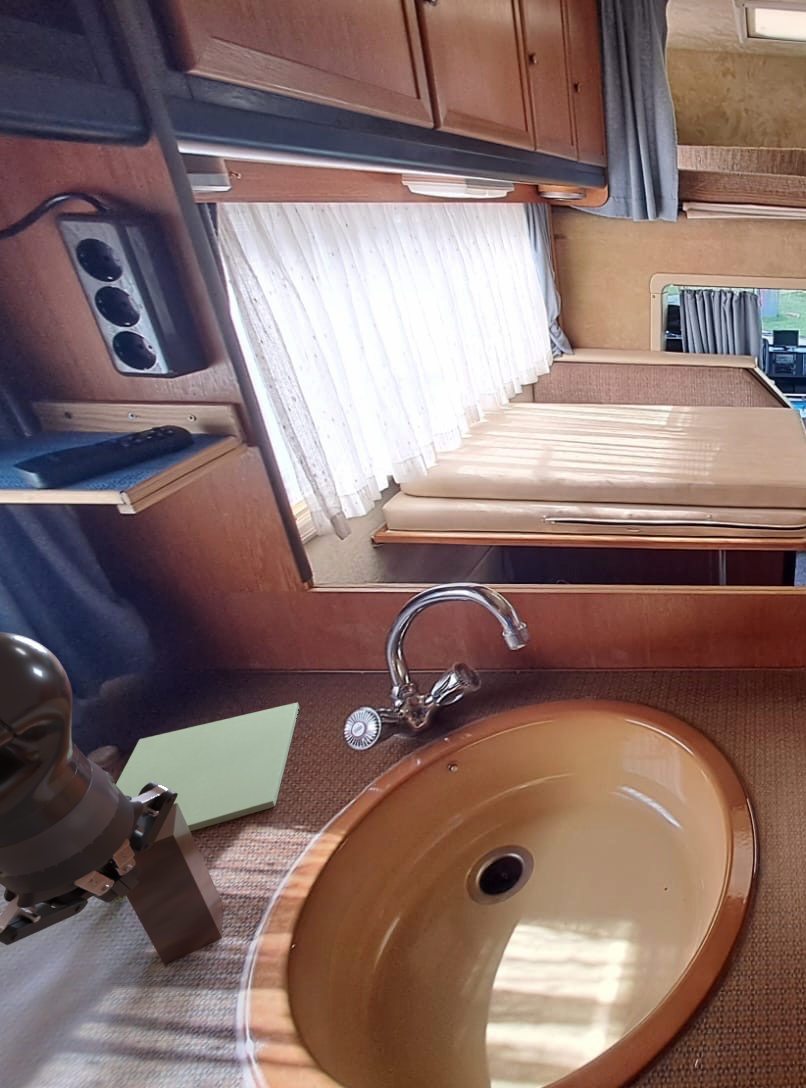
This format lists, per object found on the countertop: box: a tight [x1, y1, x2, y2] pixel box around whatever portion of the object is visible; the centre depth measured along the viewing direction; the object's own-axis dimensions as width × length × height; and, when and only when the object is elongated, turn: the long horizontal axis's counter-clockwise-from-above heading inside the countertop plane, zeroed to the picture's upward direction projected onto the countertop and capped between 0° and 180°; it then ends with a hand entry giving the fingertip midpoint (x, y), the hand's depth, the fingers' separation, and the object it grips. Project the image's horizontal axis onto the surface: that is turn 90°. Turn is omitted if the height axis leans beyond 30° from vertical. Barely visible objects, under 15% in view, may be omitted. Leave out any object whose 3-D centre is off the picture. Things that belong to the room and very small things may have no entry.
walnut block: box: [126, 803, 224, 966], centre depth 70 cm, size 5×5×18 cm
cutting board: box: [115, 701, 300, 832], centre depth 93 cm, size 20×22×1 cm
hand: (121, 886), depth 57 cm, fingers closed
